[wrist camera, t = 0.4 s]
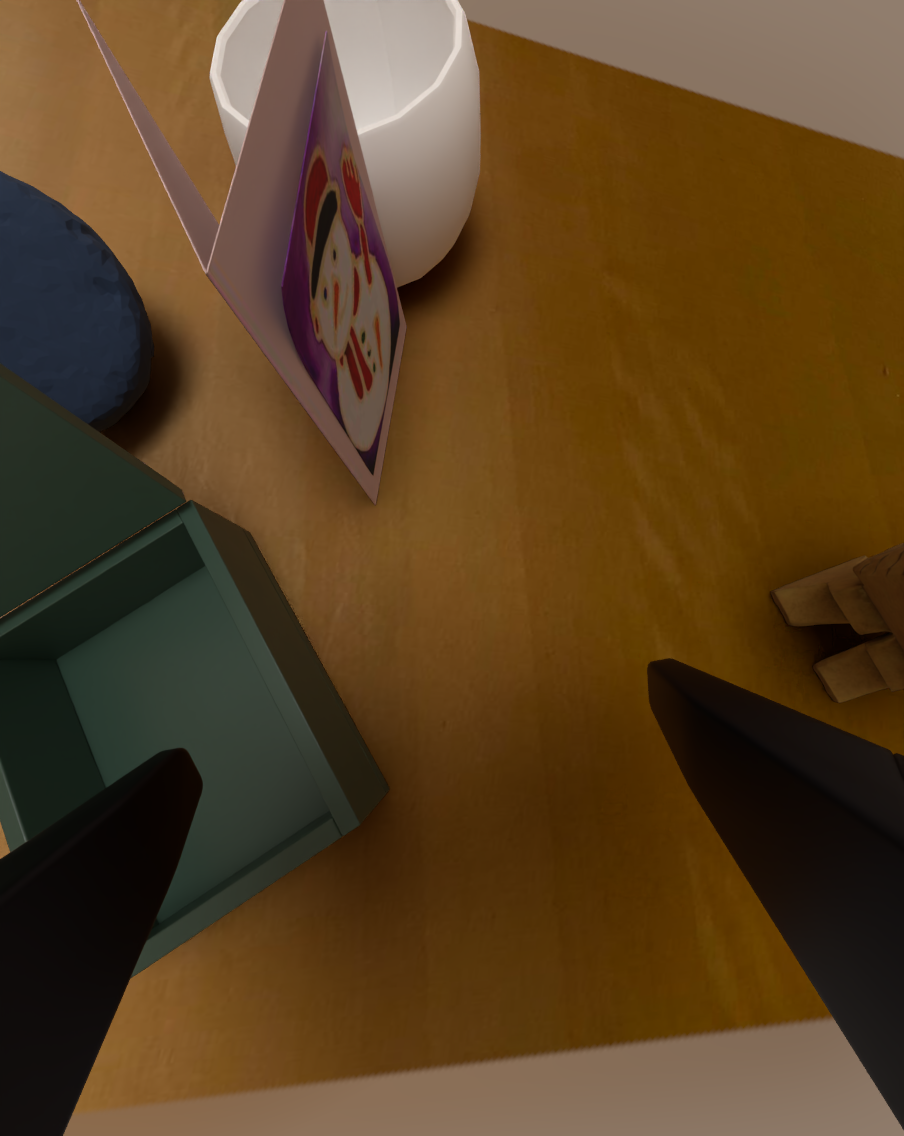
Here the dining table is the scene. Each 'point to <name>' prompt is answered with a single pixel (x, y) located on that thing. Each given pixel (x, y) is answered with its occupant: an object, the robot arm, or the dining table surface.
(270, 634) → the green open box
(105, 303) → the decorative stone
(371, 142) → the cup
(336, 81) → the greeting card
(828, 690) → the figurine
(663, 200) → the dining table surface
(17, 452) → the box lid
